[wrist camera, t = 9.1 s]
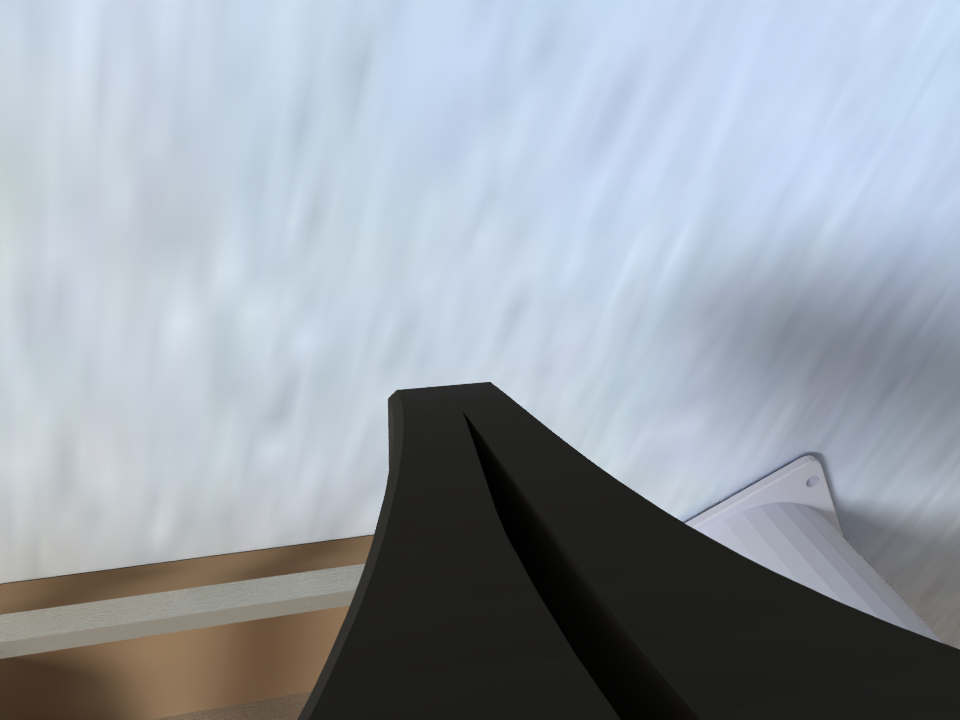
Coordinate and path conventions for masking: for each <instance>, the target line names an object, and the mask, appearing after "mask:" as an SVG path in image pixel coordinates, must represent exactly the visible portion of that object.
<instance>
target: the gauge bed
mask: <svg viewBox="0 0 960 720" xmlns="http://www.w3.org/2000/svg"><path fill="white" fill-rule="evenodd" d="M373 538H374V535H371V536H363V537H356V538H348V539H340V540H333V541H325V542H318V543H310V544H303V545H295V546H287V547H280V548H272V549H265V550H257V551H250V552H242V553H234V554H227V555H219V556H212V557H204V558H197V559H189V560H181V561H174V562H166V563H159V564H151V565H144V566H136V567H128V568H121V569H113V570H106V571H98V572H91V573H83V574H75V575H68V576H60V577H53V578H45V579H38V580H30V581H23V582H15V583H7V584H0V615H3V614H10V613H17V612H24V611H32V610H39V609H46V608H53V607H60V606H67V605H74V604H81V603H88V602H95V601H103V600H110V599H117V598H124V597H131V596H138V595H145V594H152V593H159V592H167V591H174V590H181V589H188V588H195V587H202V586H209V585H216V584H223V583H231V582H238V581H245V580H252V579H259V578H266V577H273V576H280V575H287V574H295V573H302V572H309V571H316V570H323V569H330V568H337V567H344V566H351V565H359V564H365V563H366V560H367V557H368V554H369V551H370V548H371V545H372V541H373ZM349 607H350V605H349V606H342V607H336V608H329V609H323V610H316V611H310V612H303V613H297V614H290V615H284V616H277V617H270V618H264V619H257V620H251V621H244V622H238V623H231V624H225V625H218V626H212V627H205V628H199V629H192V630H185V631H179V632H172V633H166V634H159V635H153V636H146V637H140V638H133V639H127V640H120V641H114V642H107V643H101V644H94V645H87V646H81V647H74V648H68V649H61V650H55V651H48V652H42V653H35V654H29V655H22V656H16V657H9V658H2V659H0V720H152V719H157V718H163V717H169V716H174V715H180V714H185V713H191V712H197V711H202V710H208V709H214V708H219V707H225V706H231V705H236V704H242V703H247V702H253V701H259V700H264V699H270V698H276V697H281V696H287V695H292V694H298V693H304V692H309V691H312V690H313V688H314V686H315V684H316V682H317V680H318V678H319V676H320V674H321V671H322V669H323V667H324V665H325V663H326V661H327V658H328V656H329V654H330V652H331V649H332V647H333V645H334V642H335V640H336V638H337V635H338V633H339V631H340V628H341V626H342V624H343V622H344V619H345V617H346V615H347V612H348V610H349Z"/></svg>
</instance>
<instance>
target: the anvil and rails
mask: <svg viewBox="0 0 960 720" xmlns="http://www.w3.org/2000/svg"><path fill="white" fill-rule="evenodd" d="M364 566H365V564H359V565H351V566H344V567H337V568H330V569H323V570H316V571H309V572H302V573H295V574H287V575H280V576H273V577H266V578H259V579H252V580H245V581H238V582H231V583H223V584H216V585H209V586H202V587H195V588H188V589H181V590H174V591H167V592H159V593H152V594H145V595H138V596H131V597H124V598H117V599H110V600H103V601H95V602H88V603H81V604H74V605H67V606H60V607H53V608H46V609H39V610H32V611H24V612H17V613H10V614H3V615H0V659H2V658H9V657H16V656H22V655H29V654H35V653H42V652H48V651H55V650H61V649H68V648H74V647H81V646H87V645H94V644H101V643H107V642H114V641H120V640H127V639H133V638H140V637H146V636H153V635H159V634H166V633H172V632H179V631H185V630H192V629H199V628H205V627H212V626H218V625H225V624H231V623H238V622H244V621H251V620H257V619H264V618H270V617H277V616H284V615H290V614H297V613H303V612H310V611H316V610H323V609H329V608H336V607H342V606H349V605H350V604H351V602H352V599H353V596H354V594H355V591H356V589H357V586H358V583H359V581H360V578H361V575H362V572H363V569H364ZM311 692H312V691H309V692H304V693H298V694H292V695H287V696H281V697H276V698H270V699H264V700H259V701H253V702H247V703H242V704H236V705H231V706H225V707H219V708H214V709H208V710H202V711H197V712H191V713H185V714H180V715H174V716H169V717H163V718H157V719H152V720H297V719H298V717H299V715H300V713H301V712H302V710H303V708H304V706H305V704H306V702H307V700H308V698H309V696H310V694H311Z"/></svg>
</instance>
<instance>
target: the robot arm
mask: <svg viewBox="0 0 960 720" xmlns="http://www.w3.org/2000/svg"><path fill="white" fill-rule="evenodd" d="M388 429H389V474H388V480H387V486H386V491H385V496H384V500H383V504H382V508H381V511H380V515H379V519H378V523H377V526H376V530H375V534H374V538H373V541H372V545H371V548H370V551H369V554H368V557H367V560H366V563H365V566H364V569H363V572H362V575H361V578H360V581H359V583H358V586H357V589H356V591H355V594H354V596H353V599H352V602H351V604H350V607H349V610H348V612H347V615H346V617H345V619H344V622H343V624H342V626H341V628H340V631H339V633H338V635H337V638H336V640H335V642H334V645H333V647H332V649H331V652H330V654H329V656H328V658H327V661H326V663H325V665H324V667H323V669H322V671H321V674H320V676H319V678H318V680H317V682H316V684H315V686H314V688H313V690H312V692H311V694H310V696H309V698H308V700H307V702H306V704H305V706H304V708H303V710H302V712H301V713H300V715H299V717H298V719H297V720H960V650H959V649H957V648H954V647H951V646H949V645H946V644H945V643H944V642H943V641H942V640H941V639H940V638H939V637H938V636H937V635H936V634H935V633H934V632H933V631H932V630H931V629H930V628H929V626H928V625H927V624H926V623H925V622H924V621H923V620H922V619H921V618H920V617H919V616H918V615H917V614H916V613H915V612H914V611H913V610H912V609H911V608H910V607H909V606H908V605H907V603H906V602H905V601H904V600H903V599H902V598H901V597H900V596H899V595H898V594H897V593H896V592H895V591H894V590H893V589H892V588H891V587H890V586H889V585H888V584H887V583H886V582H885V580H884V579H883V578H882V577H881V576H880V575H879V574H878V573H877V572H876V571H875V570H874V569H873V568H872V567H871V566H870V565H869V564H868V563H867V562H866V561H865V560H864V559H863V558H862V556H861V555H860V554H859V553H858V552H857V551H856V550H855V549H854V548H853V547H852V546H851V545H850V544H849V543H848V542H847V541H846V540H845V539H844V537H843V534H842V531H841V528H840V524H839V521H838V518H837V514H836V511H835V508H834V505H833V501H832V498H831V495H830V492H829V488H828V485H827V482H826V479H825V475H824V472H823V469H822V466H821V464H820V462H819V461H818V460H817V459H816V458H815V457H813V456H811V455H809V456H803V457H801V458H799V459H797V460H796V461H794V462H792V463H790V464H788V465H787V466H785V467H783V468H781V469H780V470H778V471H776V472H774V473H773V474H771V475H769V476H767V477H765V478H764V479H762V480H760V481H758V482H757V483H755V484H753V485H751V486H750V487H748V488H746V489H744V490H742V491H741V492H739V493H737V494H735V495H734V496H732V497H730V498H728V499H727V500H725V501H723V502H721V503H720V504H718V505H716V506H714V507H712V508H711V509H709V510H707V511H705V512H704V513H702V514H700V515H698V516H697V517H695V518H693V519H691V520H689V521H688V522H686V523H683V522H682V521H680V520H678V519H677V518H675V517H673V516H672V515H670V514H668V513H667V512H665V511H664V510H662V509H660V508H659V507H657V506H656V505H654V504H653V503H651V502H650V501H648V500H647V499H645V498H644V497H642V496H641V495H639V494H638V493H636V492H635V491H633V490H632V489H630V488H629V487H627V486H626V485H624V484H623V483H621V482H620V481H618V480H617V479H615V478H614V477H612V476H611V475H610V474H608V473H607V472H605V471H604V470H603V469H601V468H600V467H598V466H597V465H596V464H594V463H593V462H592V461H590V460H589V459H587V458H586V457H585V456H583V455H582V454H581V453H579V452H578V451H577V450H575V449H574V448H573V447H572V446H570V445H569V444H568V443H566V442H565V441H564V440H562V439H561V438H560V437H559V436H557V435H556V434H555V433H553V432H552V431H551V430H550V429H548V428H547V427H546V426H545V425H543V424H542V423H541V422H540V421H538V420H537V419H536V418H535V417H533V416H532V415H531V414H530V413H528V412H527V411H526V410H525V409H524V408H522V407H521V406H520V405H519V404H517V403H516V402H515V401H514V400H513V399H511V398H510V397H509V396H508V395H506V394H505V393H504V392H503V391H501V390H500V389H499V388H497V387H496V386H495V385H493V384H492V383H491V382H484V383H472V384H461V385H449V386H438V387H426V388H415V389H403V390H397V391H395V392H394V393H393V394H392V395H391V396H390V397H389V398H388Z"/></svg>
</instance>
